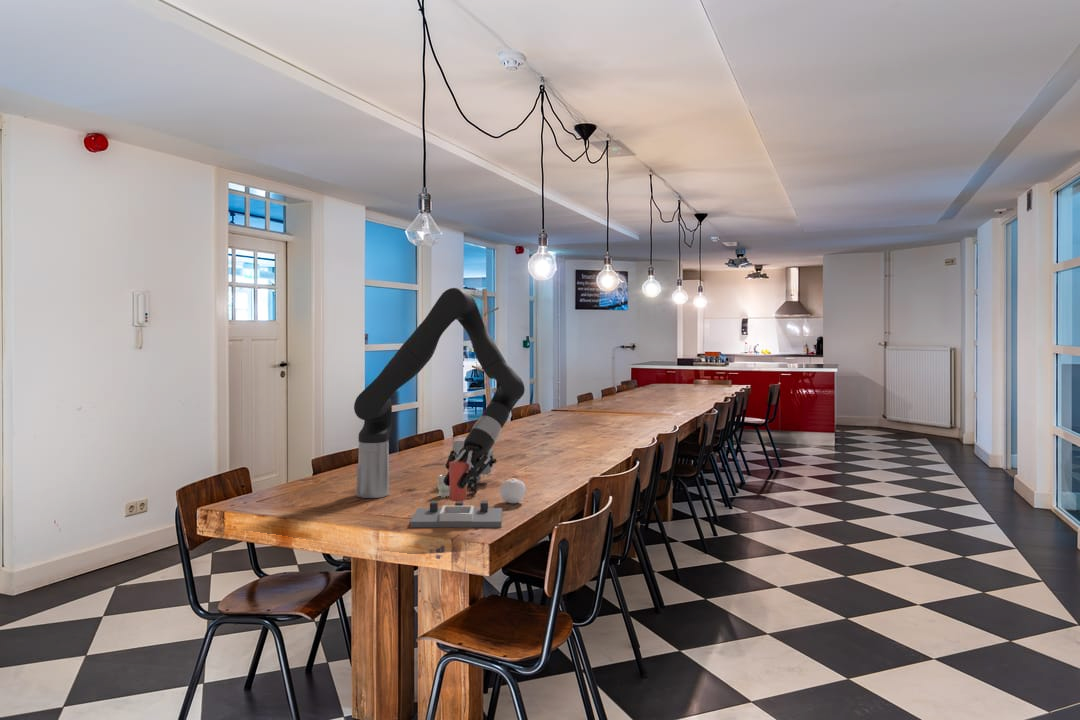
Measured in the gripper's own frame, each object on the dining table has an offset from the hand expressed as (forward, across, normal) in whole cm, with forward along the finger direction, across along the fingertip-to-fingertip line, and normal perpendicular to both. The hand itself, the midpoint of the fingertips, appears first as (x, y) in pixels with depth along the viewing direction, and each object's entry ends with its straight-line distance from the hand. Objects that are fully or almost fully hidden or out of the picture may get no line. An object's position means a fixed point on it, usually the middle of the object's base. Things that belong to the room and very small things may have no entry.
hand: (452, 485), depth 178 cm
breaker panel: (+5, -2, +10) cm, 11 cm away
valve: (-10, -23, +25) cm, 35 cm away
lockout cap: (+2, 0, +4) cm, 5 cm away
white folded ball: (-12, -2, +27) cm, 30 cm away
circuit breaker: (-22, -31, +37) cm, 53 cm away
